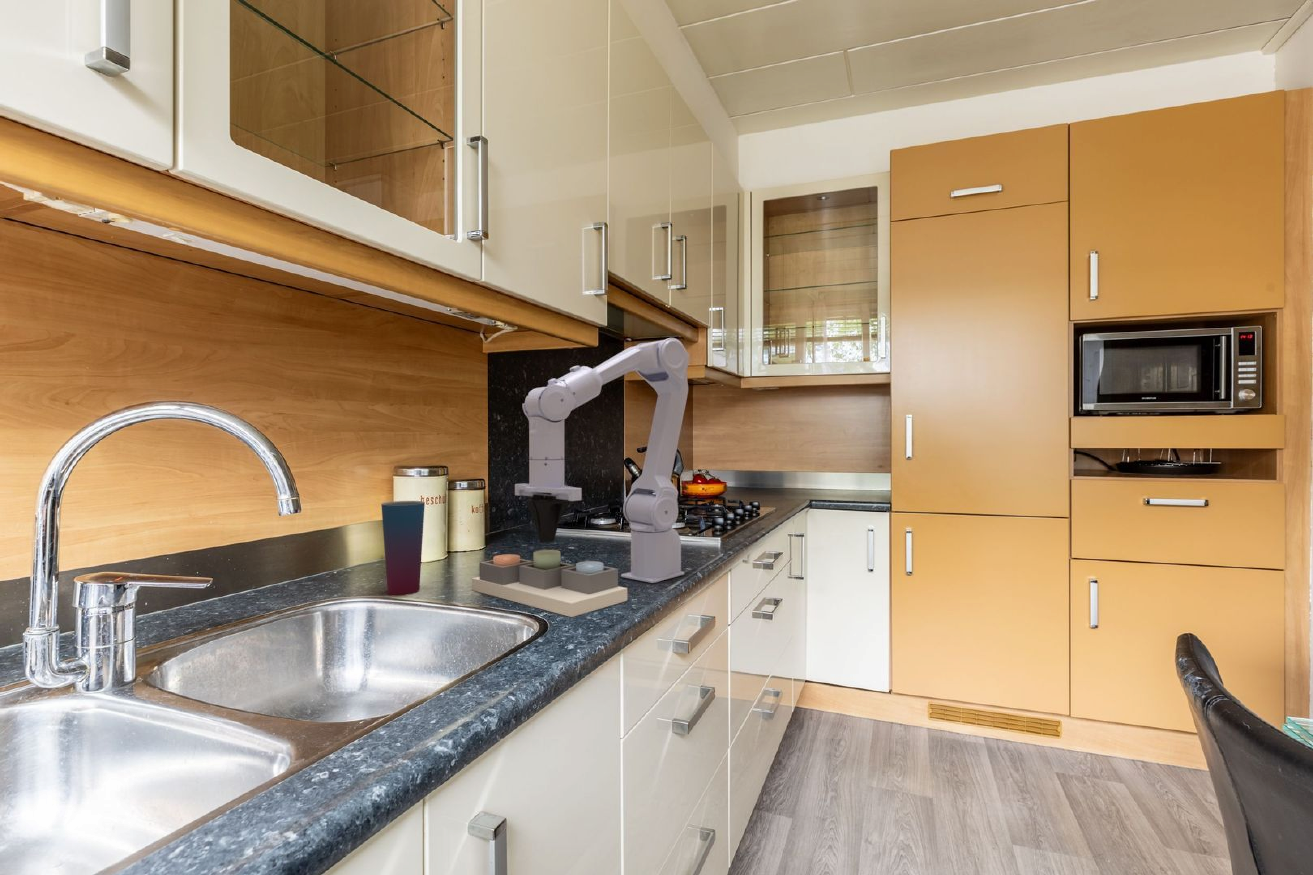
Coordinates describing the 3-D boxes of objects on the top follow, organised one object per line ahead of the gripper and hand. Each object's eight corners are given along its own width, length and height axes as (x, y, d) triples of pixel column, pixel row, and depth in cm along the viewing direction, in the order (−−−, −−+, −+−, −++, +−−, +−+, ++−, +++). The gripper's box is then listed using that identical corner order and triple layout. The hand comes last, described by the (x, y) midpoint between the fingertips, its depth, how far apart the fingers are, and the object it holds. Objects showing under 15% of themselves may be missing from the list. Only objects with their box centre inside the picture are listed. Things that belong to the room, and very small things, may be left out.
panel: (527, 577, 119) (527, 551, 119) (627, 600, 103) (627, 570, 103) (471, 589, 110) (471, 561, 110) (571, 617, 93) (571, 583, 93)
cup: (415, 596, 105) (415, 505, 105) (374, 596, 105) (374, 505, 105) (431, 586, 112) (430, 500, 112) (392, 586, 112) (392, 500, 112)
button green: (548, 562, 109) (548, 548, 109) (566, 566, 106) (566, 551, 106) (527, 567, 106) (527, 552, 106) (545, 570, 103) (545, 555, 103)
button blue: (590, 574, 106) (589, 560, 106) (609, 578, 103) (609, 563, 103) (570, 579, 103) (570, 564, 103) (589, 583, 100) (589, 567, 100)
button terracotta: (509, 567, 112) (509, 553, 112) (525, 570, 109) (525, 556, 109) (488, 571, 109) (488, 557, 109) (503, 574, 106) (503, 560, 106)
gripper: (500, 458, 108) (500, 539, 108) (557, 461, 98) (557, 550, 98) (533, 457, 113) (533, 534, 113) (591, 460, 104) (591, 544, 104)
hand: (547, 541), depth 106 cm, fingers closed
